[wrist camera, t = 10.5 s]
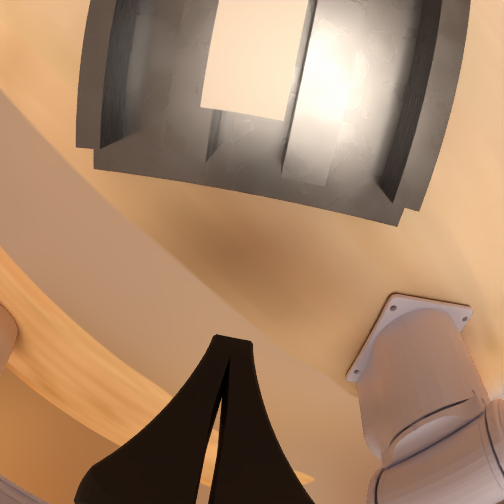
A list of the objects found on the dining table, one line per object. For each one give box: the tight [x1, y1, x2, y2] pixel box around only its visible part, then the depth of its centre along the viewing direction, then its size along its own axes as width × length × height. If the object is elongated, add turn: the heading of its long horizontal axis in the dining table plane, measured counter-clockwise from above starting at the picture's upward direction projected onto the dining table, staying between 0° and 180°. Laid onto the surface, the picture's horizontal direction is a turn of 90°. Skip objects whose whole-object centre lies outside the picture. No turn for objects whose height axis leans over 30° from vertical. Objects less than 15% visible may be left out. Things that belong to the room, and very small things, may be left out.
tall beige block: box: [200, 0, 308, 121], centre depth 10 cm, size 6×2×7 cm, turn 170°
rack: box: [76, 0, 471, 227], centre depth 12 cm, size 16×18×4 cm
